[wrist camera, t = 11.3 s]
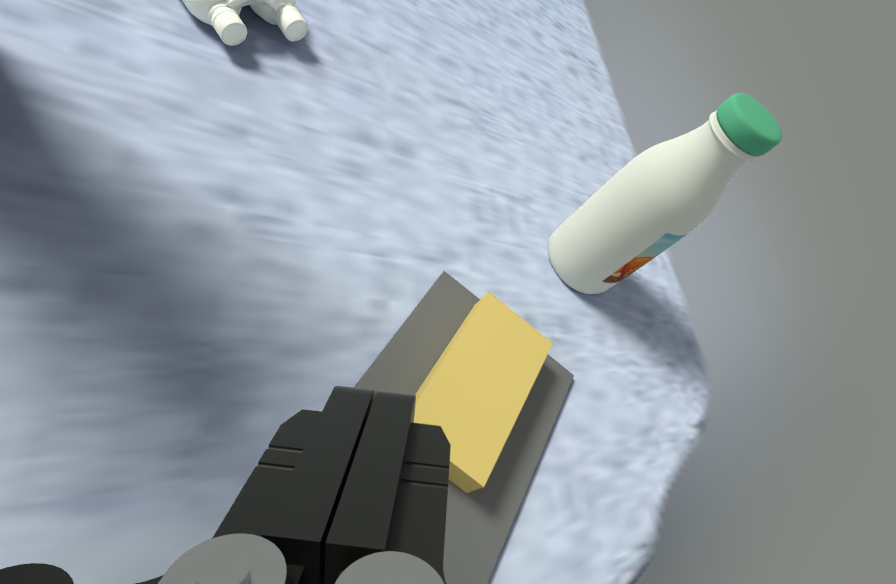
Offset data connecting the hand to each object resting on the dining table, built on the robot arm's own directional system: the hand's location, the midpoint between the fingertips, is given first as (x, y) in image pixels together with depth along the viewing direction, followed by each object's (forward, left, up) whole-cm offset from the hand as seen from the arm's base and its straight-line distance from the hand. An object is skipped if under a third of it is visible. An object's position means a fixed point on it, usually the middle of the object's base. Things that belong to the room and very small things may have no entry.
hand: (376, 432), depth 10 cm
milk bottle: (-21, +30, -23) cm, 44 cm away
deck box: (-3, +11, -21) cm, 24 cm away
